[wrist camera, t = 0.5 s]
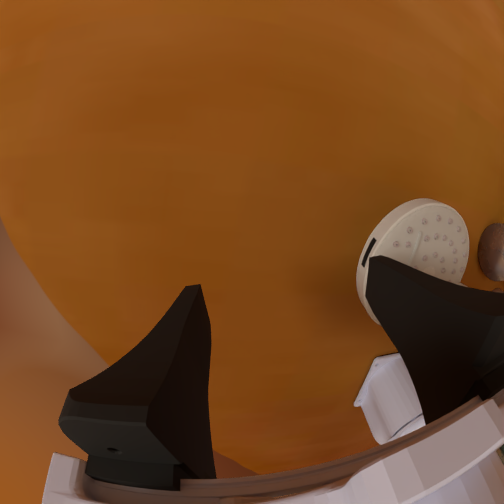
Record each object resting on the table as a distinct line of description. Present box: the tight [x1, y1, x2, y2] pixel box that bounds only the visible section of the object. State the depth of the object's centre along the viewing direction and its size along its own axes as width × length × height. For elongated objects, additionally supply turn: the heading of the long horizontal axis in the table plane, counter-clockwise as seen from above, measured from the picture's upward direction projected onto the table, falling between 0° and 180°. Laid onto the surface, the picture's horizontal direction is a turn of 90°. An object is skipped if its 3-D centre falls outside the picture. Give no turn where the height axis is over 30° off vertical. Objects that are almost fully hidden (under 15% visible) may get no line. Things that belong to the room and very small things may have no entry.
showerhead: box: [356, 198, 469, 325], centre depth 18 cm, size 9×7×10 cm
